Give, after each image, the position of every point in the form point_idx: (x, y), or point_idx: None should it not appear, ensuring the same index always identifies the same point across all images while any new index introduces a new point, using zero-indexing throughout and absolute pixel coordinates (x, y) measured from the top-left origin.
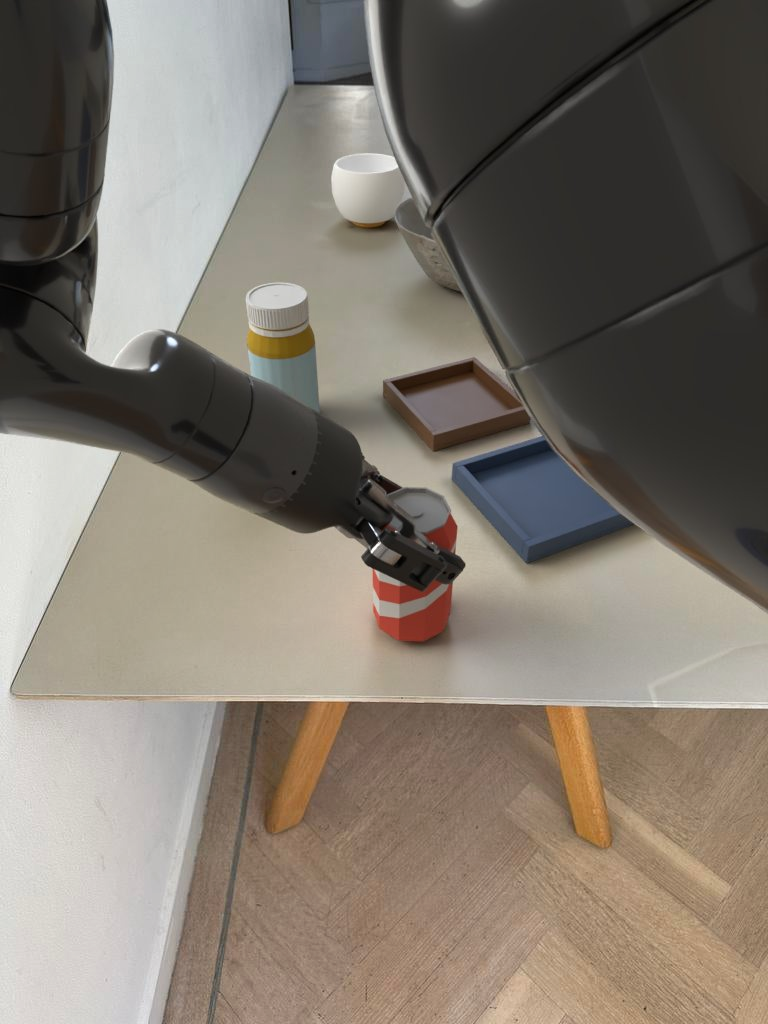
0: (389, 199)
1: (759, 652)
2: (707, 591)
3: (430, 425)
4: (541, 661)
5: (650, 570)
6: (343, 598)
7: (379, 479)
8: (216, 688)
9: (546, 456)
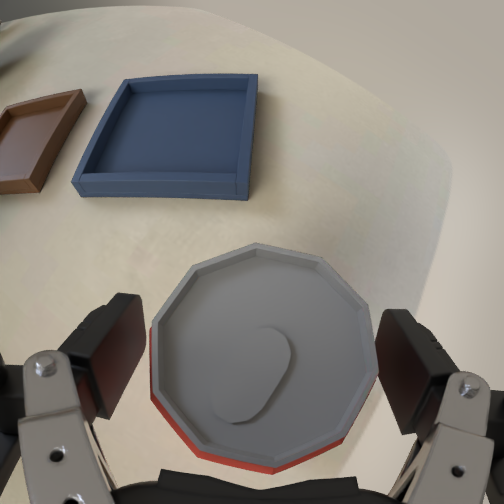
0: None
1: (418, 127)
2: (354, 108)
3: (18, 174)
4: (385, 273)
5: (315, 120)
6: (172, 441)
7: (78, 363)
8: None
9: (131, 107)
